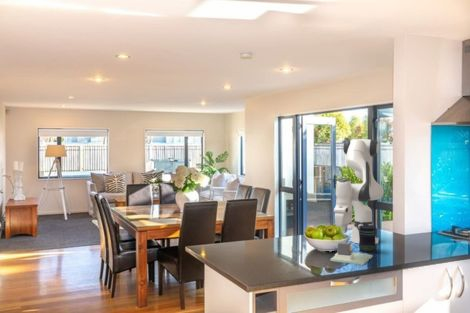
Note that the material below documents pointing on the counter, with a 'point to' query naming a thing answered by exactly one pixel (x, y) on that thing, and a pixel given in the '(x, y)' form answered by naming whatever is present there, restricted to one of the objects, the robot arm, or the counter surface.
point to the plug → (344, 248)
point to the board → (352, 258)
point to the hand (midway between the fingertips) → (344, 232)
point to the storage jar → (367, 239)
